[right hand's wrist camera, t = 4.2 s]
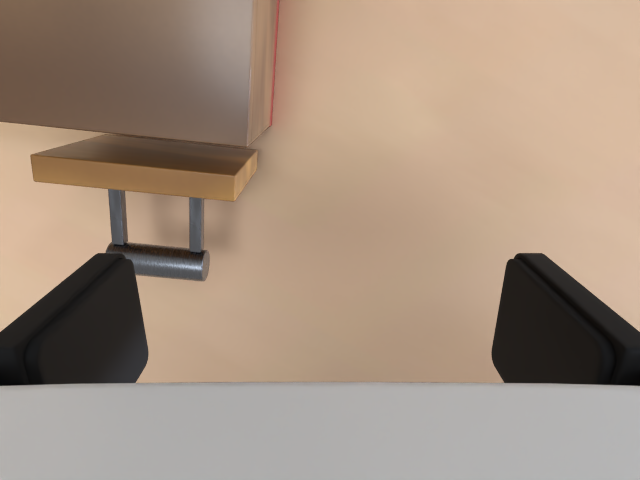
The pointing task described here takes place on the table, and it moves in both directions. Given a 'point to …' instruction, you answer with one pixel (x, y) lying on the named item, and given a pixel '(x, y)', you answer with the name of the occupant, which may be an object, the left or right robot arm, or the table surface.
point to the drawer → (152, 189)
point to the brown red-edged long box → (141, 67)
